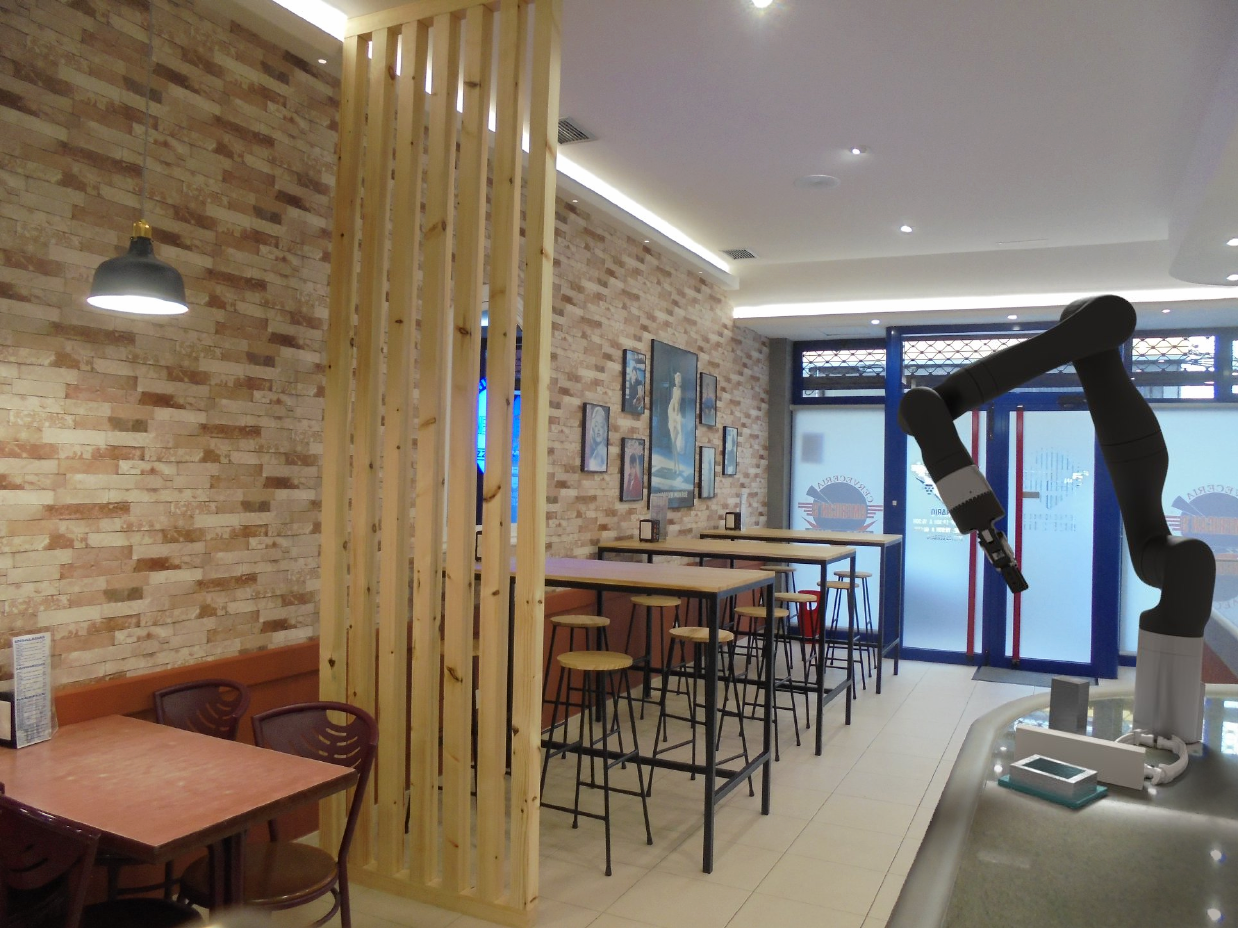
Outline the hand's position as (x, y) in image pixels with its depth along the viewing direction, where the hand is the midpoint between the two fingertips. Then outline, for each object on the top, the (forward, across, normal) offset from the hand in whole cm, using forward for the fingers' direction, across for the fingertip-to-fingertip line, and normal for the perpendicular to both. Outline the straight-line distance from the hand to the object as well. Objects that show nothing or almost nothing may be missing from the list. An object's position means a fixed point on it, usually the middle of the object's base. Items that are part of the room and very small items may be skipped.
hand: (1021, 591), depth 139 cm
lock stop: (+24, +1, +6) cm, 25 cm away
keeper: (+24, -19, +8) cm, 32 cm away
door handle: (+30, +5, -3) cm, 31 cm away
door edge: (+25, -9, +5) cm, 27 cm away
